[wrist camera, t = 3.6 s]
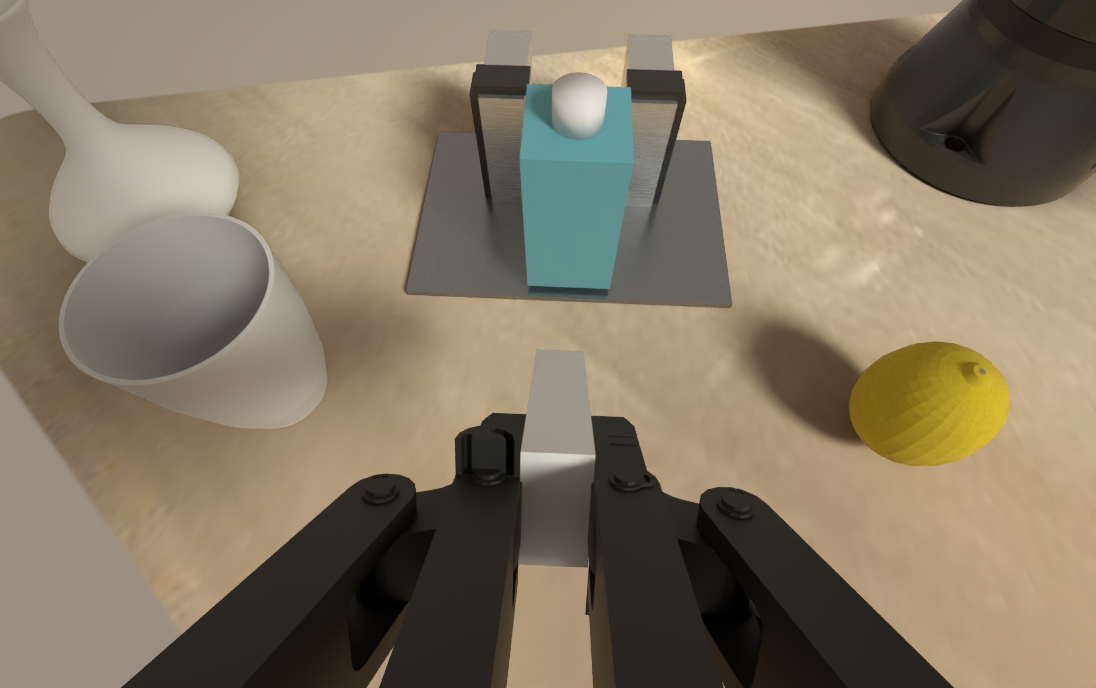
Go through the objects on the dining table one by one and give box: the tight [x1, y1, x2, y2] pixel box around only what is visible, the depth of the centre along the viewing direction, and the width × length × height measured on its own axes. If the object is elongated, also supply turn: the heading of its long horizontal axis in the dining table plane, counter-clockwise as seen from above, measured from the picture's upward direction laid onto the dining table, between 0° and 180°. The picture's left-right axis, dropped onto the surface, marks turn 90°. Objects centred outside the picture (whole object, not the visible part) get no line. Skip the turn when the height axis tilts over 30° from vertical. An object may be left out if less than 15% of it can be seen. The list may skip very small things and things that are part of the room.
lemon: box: [849, 342, 1010, 466], centre depth 25 cm, size 6×6×8 cm
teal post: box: [520, 73, 634, 289], centre depth 28 cm, size 5×5×12 cm
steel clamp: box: [406, 30, 732, 308], centre depth 31 cm, size 20×14×9 cm
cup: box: [59, 212, 328, 429], centre depth 25 cm, size 8×8×10 cm
